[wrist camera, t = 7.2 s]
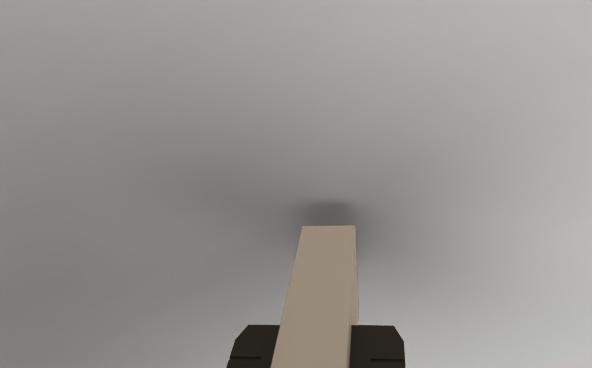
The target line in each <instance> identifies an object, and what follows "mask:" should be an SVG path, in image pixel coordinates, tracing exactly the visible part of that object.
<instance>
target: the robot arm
mask: <svg viewBox="0 0 592 368" xmlns="http://www.w3.org/2000/svg"><path fill="white" fill-rule="evenodd" d="M358 315H359V292H358V273H357V254H356V234H355V225H348V226H302V231H301V235H300V240H299V244H298V249H297V253H296V257H295V262H294V266H293V271H292V275H291V280H290V284H289V288H288V293H287V297H286V302H285V306H284V311H283V315H282V319H281V324H280V325H248V326H247V327H246V328H245V329H244V330H243V332H242V333H241V334H240V335H239V336H238V337H237V338H236V340H235V343H234V346H233V349H232V352H231V355H230V360H229V361H228V364H227V368H405V354H404V341H403V340H402V338H401V336H400V335H399V333H398V332H397V330H396V329H395V327H394V326H377V325H358Z"/></svg>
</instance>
